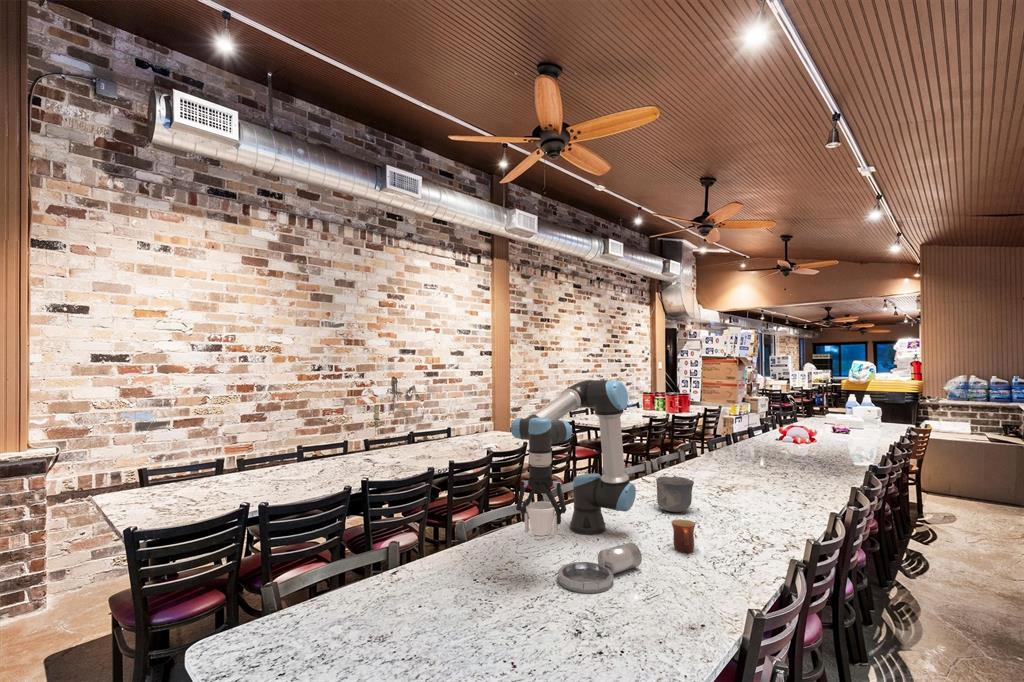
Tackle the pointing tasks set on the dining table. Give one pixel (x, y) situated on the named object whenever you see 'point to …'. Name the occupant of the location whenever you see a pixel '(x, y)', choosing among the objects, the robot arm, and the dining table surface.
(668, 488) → the bowl
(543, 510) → the cup
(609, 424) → the robot arm
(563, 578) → the grey saucepan
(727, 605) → the dining table surface
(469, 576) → the dining table surface
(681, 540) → the mug
